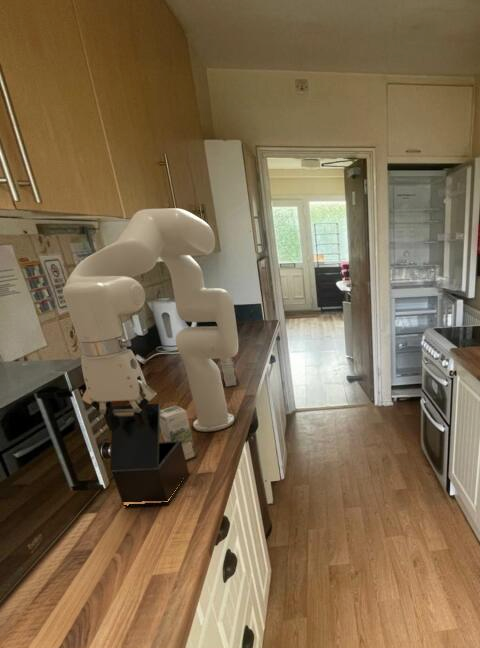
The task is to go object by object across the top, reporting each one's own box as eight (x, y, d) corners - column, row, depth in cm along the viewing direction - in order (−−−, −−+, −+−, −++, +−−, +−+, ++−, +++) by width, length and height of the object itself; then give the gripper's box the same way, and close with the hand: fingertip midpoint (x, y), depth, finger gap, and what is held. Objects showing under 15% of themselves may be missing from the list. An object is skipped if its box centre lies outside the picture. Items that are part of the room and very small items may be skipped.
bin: (149, 476, 111) (139, 443, 107) (189, 474, 111) (180, 440, 107) (124, 508, 98) (111, 472, 94) (168, 505, 99) (158, 469, 95)
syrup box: (186, 450, 123) (175, 404, 117) (197, 456, 120) (186, 409, 114) (167, 458, 119) (154, 411, 113) (177, 465, 116) (164, 416, 110)
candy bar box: (223, 379, 180) (215, 341, 173) (235, 377, 182) (228, 339, 175) (224, 387, 171) (216, 347, 164) (237, 385, 172) (230, 345, 166)
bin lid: (114, 406, 97) (100, 402, 92) (160, 404, 97) (148, 399, 92) (112, 470, 94) (97, 469, 89) (158, 467, 95) (147, 466, 90)
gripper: (155, 339, 89) (175, 418, 97) (71, 343, 88) (98, 422, 96) (139, 349, 82) (162, 433, 90) (47, 354, 82) (79, 437, 89)
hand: (129, 426), depth 93 cm, fingers closed on bin lid, 5 cm apart
